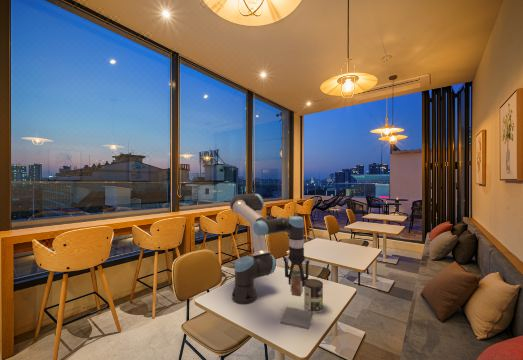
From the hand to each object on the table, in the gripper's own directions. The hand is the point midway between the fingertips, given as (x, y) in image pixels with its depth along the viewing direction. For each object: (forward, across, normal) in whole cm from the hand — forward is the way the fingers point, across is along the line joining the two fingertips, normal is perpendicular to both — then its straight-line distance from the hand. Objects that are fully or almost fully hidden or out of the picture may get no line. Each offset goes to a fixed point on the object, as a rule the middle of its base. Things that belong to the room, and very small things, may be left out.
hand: (296, 291), depth 119 cm
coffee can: (+14, +7, +13) cm, 20 cm away
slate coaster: (+14, 0, 0) cm, 14 cm away
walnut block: (+1, 0, 0) cm, 1 cm away
